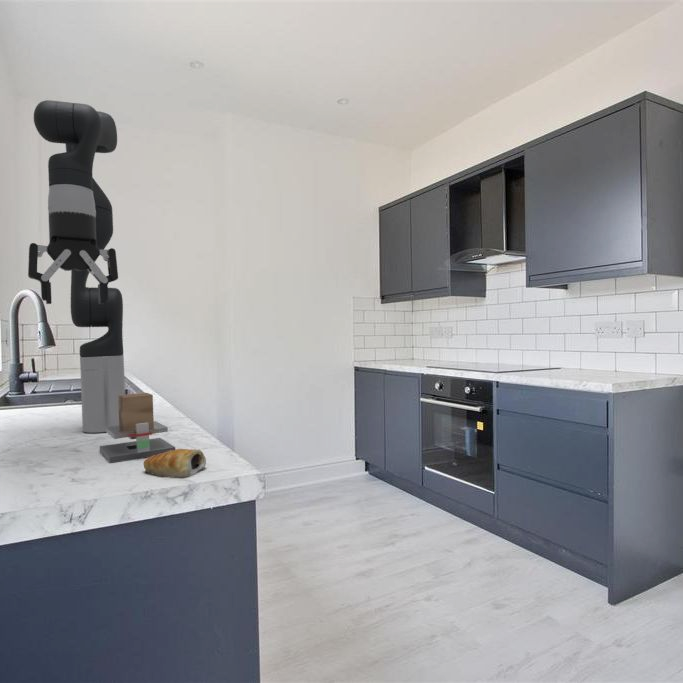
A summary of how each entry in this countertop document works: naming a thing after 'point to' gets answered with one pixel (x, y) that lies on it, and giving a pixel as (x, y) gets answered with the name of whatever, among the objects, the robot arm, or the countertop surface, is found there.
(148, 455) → the base
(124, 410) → the walnut block
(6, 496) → the countertop surface
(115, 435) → the pan
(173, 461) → the pastry
